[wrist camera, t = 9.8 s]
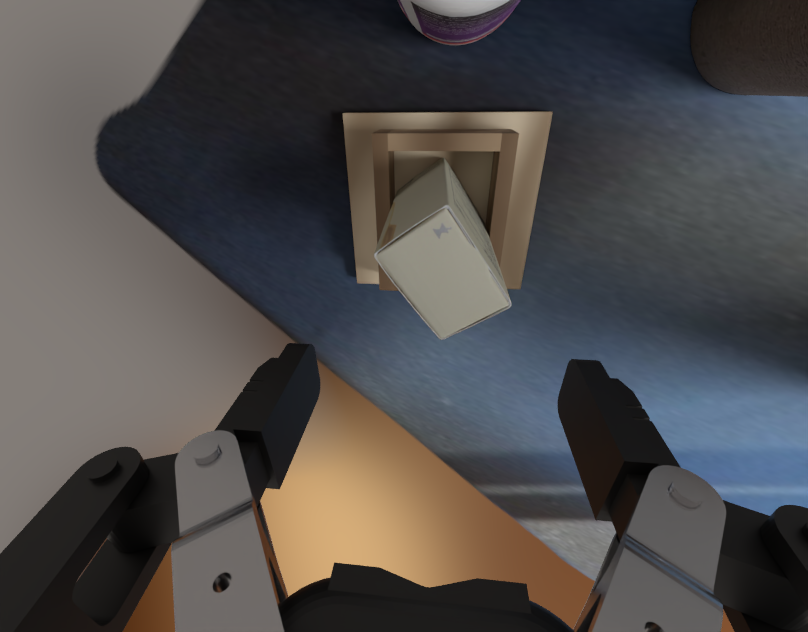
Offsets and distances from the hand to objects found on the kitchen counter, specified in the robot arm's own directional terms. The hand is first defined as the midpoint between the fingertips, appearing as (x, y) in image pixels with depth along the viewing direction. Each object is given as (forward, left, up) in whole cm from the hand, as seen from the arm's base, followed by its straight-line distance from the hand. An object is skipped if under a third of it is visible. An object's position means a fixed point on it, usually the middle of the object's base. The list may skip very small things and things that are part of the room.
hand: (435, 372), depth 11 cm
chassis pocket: (0, 0, -20) cm, 20 cm away
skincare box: (0, 0, -19) cm, 19 cm away
